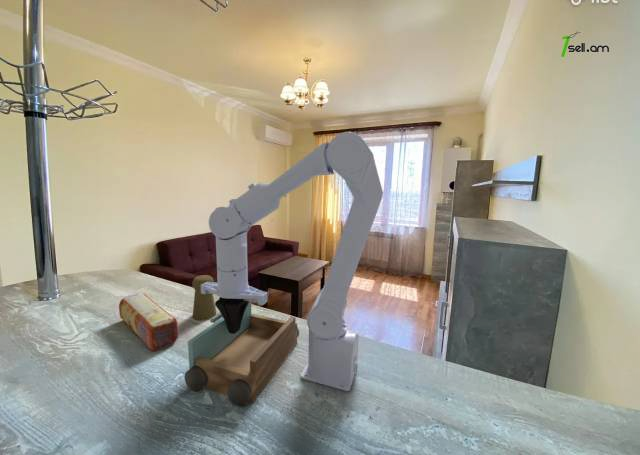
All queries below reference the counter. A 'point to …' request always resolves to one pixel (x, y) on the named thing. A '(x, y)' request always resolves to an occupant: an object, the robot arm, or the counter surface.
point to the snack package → (149, 321)
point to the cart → (246, 360)
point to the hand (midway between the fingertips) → (234, 330)
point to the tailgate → (215, 337)
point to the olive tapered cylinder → (203, 300)
